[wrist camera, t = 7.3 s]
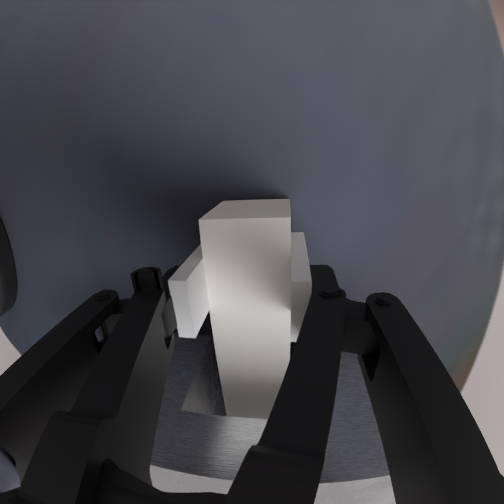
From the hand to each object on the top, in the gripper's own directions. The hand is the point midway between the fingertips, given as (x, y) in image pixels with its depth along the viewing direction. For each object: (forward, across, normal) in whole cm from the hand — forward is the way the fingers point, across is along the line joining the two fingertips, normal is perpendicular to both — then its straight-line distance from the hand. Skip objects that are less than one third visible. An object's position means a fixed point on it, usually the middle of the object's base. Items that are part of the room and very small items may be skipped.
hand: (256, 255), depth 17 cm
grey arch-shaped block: (+1, 0, -10) cm, 10 cm away
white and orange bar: (+1, 0, -9) cm, 9 cm away
